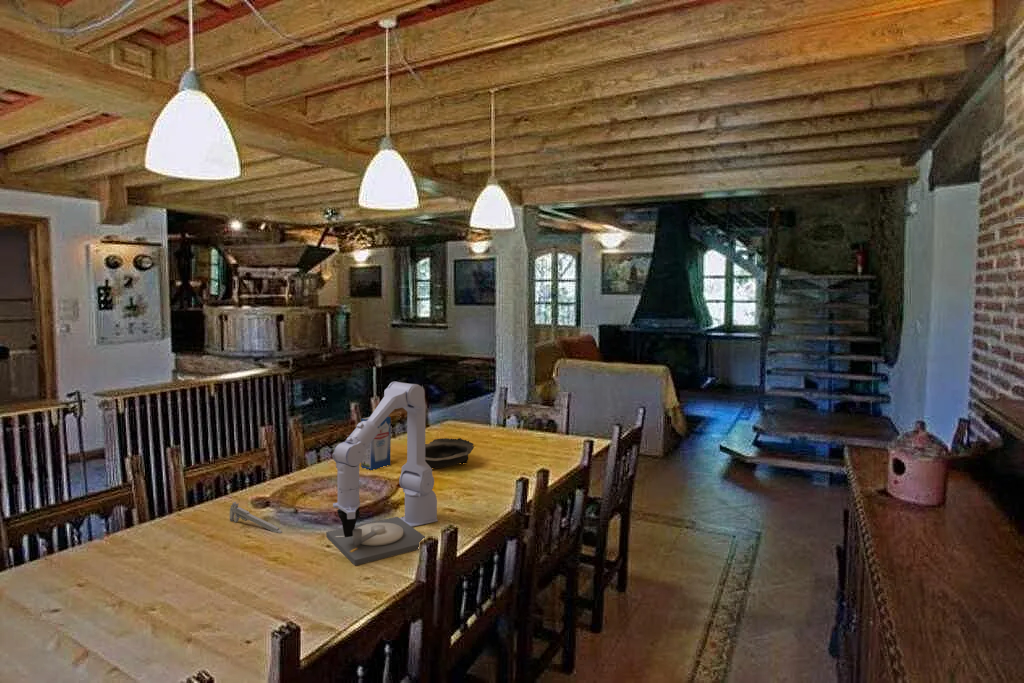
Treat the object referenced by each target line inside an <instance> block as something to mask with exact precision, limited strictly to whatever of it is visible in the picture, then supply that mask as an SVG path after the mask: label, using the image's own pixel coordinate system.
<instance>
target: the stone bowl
mask: <svg viewBox="0 0 1024 683" xmlns="http://www.w3.org/2000/svg"><path fill="white" fill-rule="evenodd" d="M474 448H475V444H474V443H473V442H470V440H467V439H463V438H461V437H459V438H447V437H444V438H443V437H442V438H436V439H433V440H432V441H430V442H429V443H425V462H426V463H427V464H428V465H429V466H430V467H431V468H435V469H441V468H442V469H443V468H446V467H450V466H454V465H455V466H456V465H458V464H459V463H461V464H463V463H467V464H468V460H469V455H471V453H472V451H473V450H474ZM461 464H459V465H461Z"/></svg>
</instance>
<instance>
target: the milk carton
mask: <svg viewBox="0 0 1024 683" xmlns="http://www.w3.org/2000/svg"><path fill="white" fill-rule="evenodd" d="M369 417H370V416H367V417H363V418H362V417H361V418H360V420H361V421H360V422H362V421H367V420H368V419H369ZM391 424H392V422H391V416H388V417H387V418H386V419H385V420H384V421H383V422H382V423H381V424H380V425H379V426H378V427H377V431H378V434H377V435H376V437H375V438H374V439H373V440H372V442H371V443H370V444H369V446H368V447H367V448H366V452H365V454H364V459H363V461H362V462H361V463H360V465H361V467H362V468H361V467H360V468H361V469H364V468H366V469H365V470H368V469H370V470H369V471H371V470H372V471H374V470H373V469H375V470H378V469H377V468H379V469H381V468H380V467H383V466H386V467H388V466H387V465H390V466H391V442H392V441H391V434H392V433H391V431H392V430H391V427H392V426H391ZM383 468H384V467H383Z"/></svg>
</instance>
